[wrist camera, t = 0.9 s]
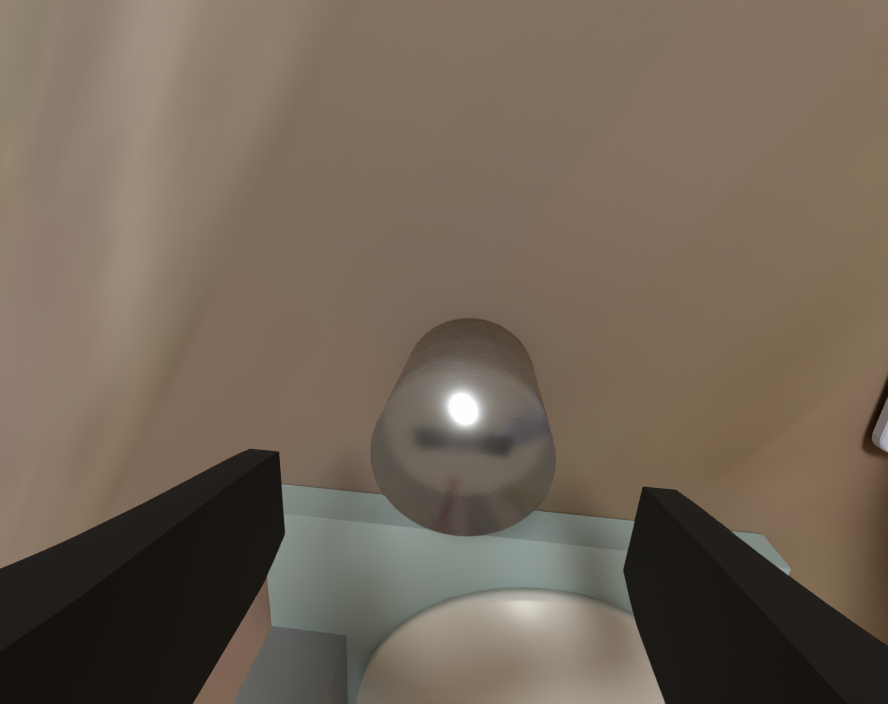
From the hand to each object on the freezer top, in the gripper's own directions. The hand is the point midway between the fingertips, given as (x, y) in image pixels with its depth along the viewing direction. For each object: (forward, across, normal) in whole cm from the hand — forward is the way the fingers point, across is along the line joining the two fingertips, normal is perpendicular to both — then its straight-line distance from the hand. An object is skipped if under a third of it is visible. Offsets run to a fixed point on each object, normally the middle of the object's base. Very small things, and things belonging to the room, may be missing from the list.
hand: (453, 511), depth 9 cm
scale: (+7, -2, +14) cm, 16 cm away
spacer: (+7, 0, 0) cm, 7 cm away
